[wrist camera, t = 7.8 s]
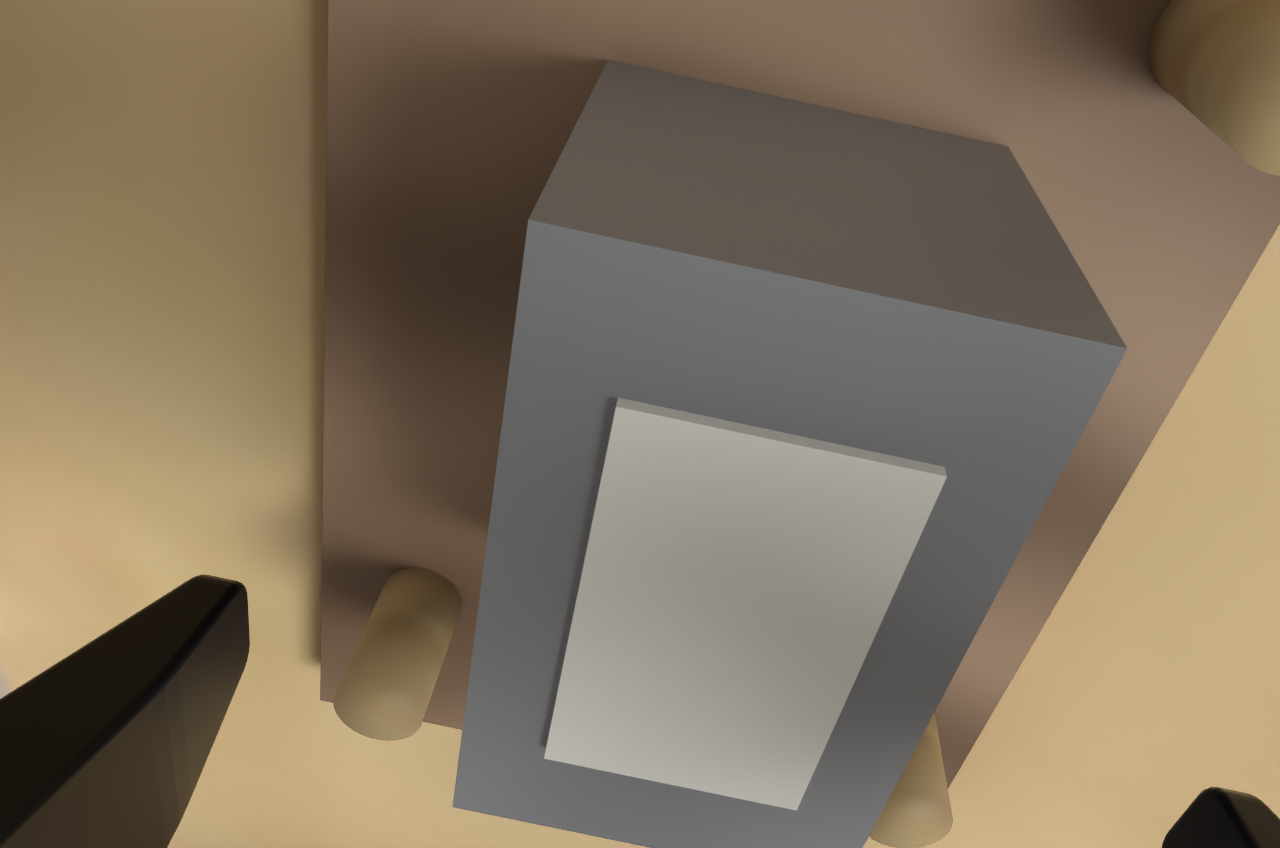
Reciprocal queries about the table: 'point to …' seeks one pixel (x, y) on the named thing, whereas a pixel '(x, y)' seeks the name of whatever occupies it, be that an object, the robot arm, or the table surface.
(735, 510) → the block
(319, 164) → the table surface
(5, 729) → the robot arm
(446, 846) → the table surface
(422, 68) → the wooden peg board
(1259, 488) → the table surface
